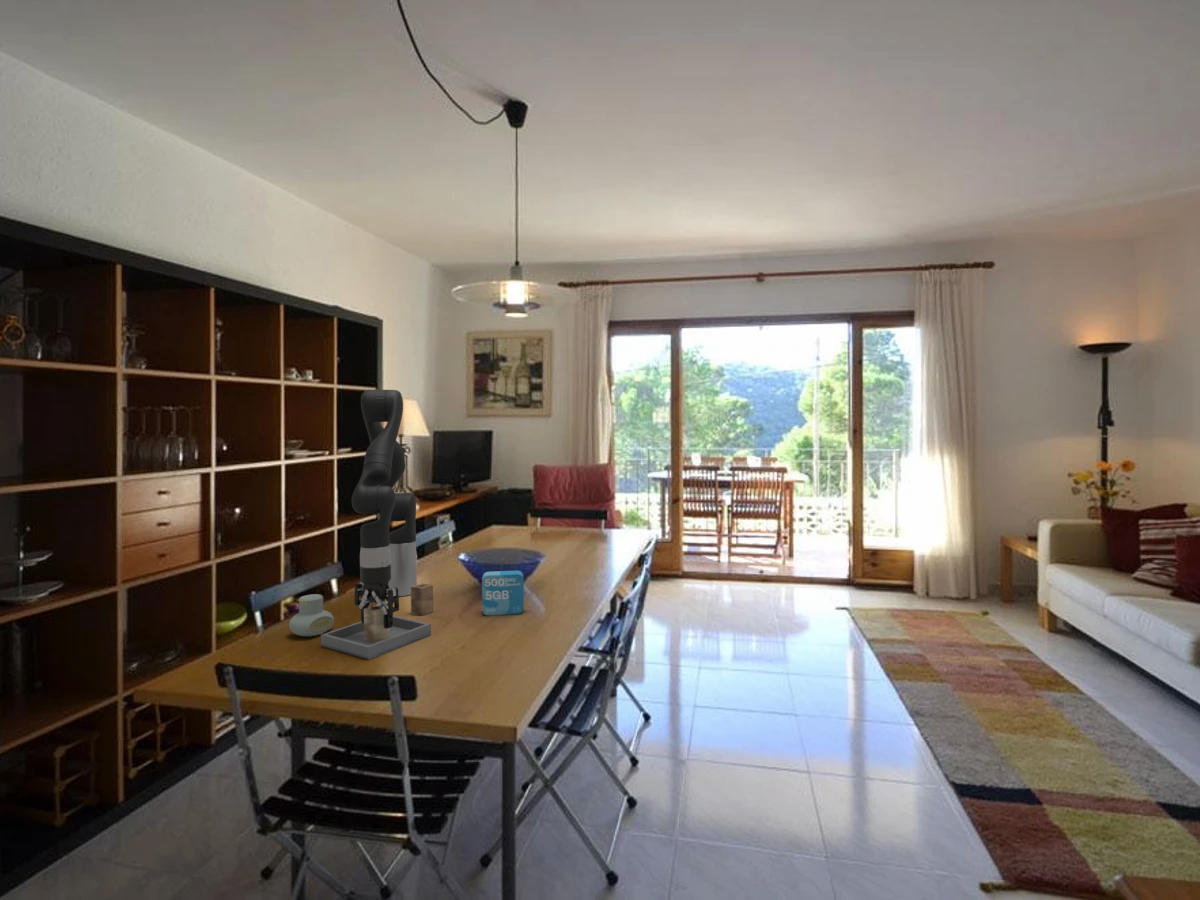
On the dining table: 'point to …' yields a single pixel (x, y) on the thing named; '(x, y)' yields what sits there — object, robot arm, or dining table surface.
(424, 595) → the full-size block
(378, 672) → the dining table surface
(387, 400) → the robot arm
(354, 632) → the tray
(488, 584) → the data package
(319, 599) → the air freshener
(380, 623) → the block
